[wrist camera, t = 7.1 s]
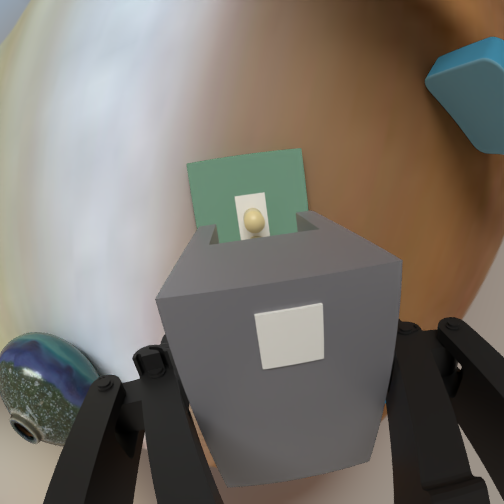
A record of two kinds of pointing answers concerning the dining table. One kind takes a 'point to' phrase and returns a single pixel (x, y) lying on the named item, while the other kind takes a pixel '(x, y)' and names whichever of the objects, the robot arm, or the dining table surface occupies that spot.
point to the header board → (249, 194)
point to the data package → (473, 91)
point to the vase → (44, 385)
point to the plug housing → (284, 347)
